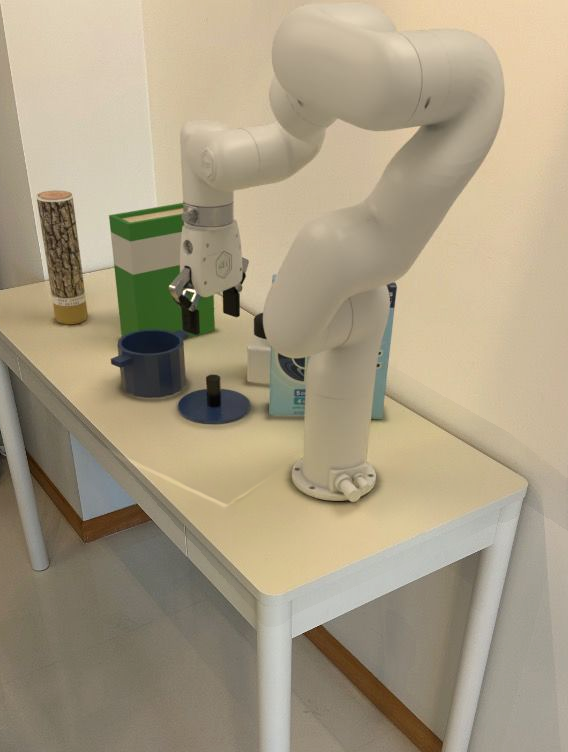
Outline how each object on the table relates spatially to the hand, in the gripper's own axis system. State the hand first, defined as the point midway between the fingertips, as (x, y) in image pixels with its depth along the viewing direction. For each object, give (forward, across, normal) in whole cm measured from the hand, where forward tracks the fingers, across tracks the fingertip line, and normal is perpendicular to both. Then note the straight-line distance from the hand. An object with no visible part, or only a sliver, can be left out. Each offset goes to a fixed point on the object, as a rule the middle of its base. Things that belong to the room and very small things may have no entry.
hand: (211, 323), depth 130 cm
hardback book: (+16, +18, +28) cm, 37 cm away
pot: (+15, -1, +14) cm, 20 cm away
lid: (+14, -1, -1) cm, 14 cm away
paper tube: (+16, +10, +50) cm, 53 cm away
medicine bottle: (+15, +15, 0) cm, 22 cm away
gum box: (+15, +11, -16) cm, 25 cm away
